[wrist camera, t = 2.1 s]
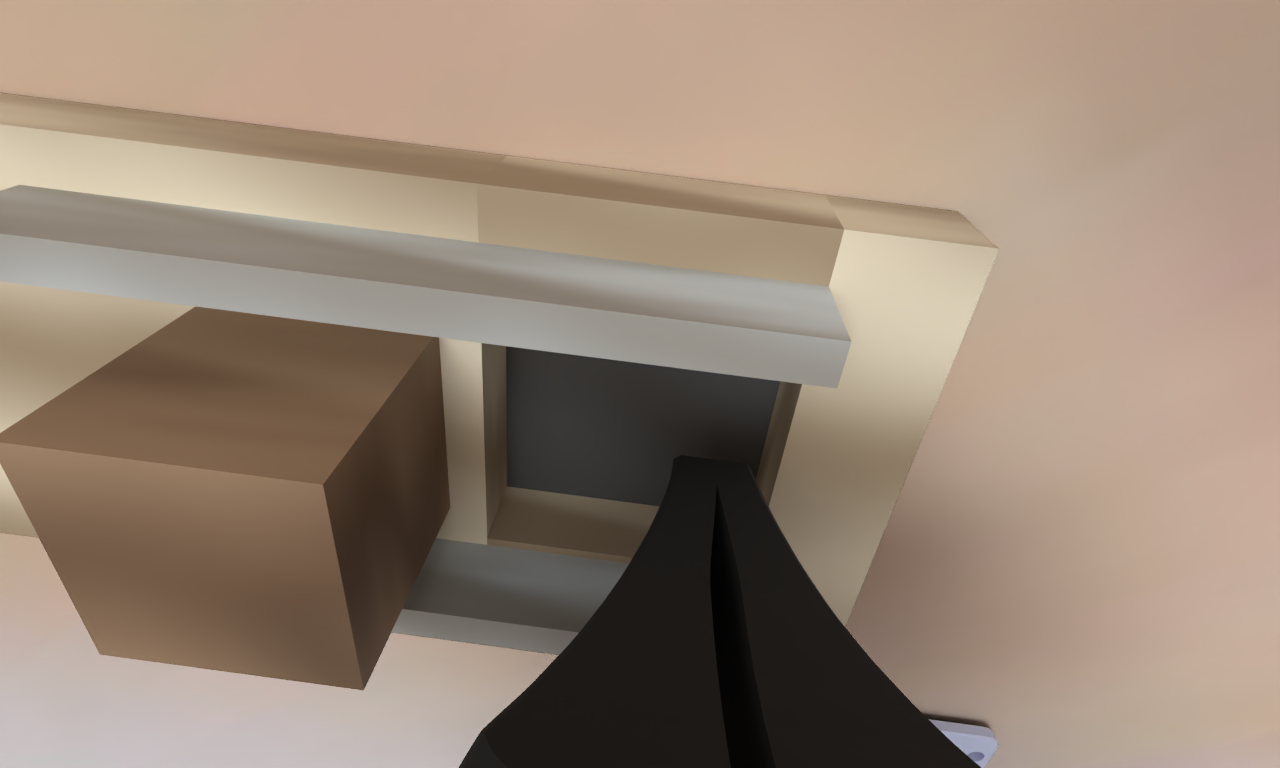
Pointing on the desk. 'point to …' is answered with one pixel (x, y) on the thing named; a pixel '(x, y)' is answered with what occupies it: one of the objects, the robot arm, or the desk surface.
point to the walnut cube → (242, 492)
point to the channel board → (511, 329)
